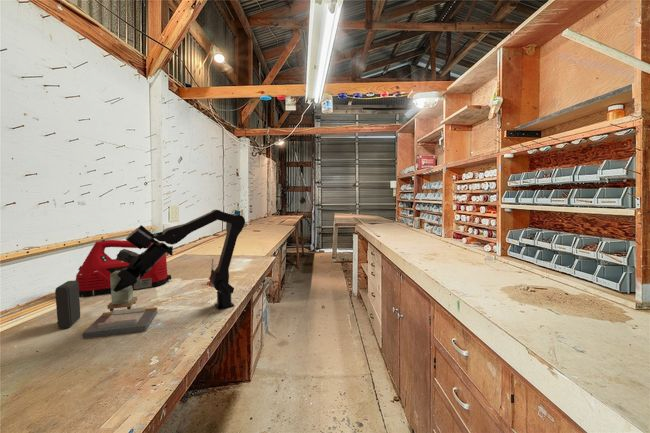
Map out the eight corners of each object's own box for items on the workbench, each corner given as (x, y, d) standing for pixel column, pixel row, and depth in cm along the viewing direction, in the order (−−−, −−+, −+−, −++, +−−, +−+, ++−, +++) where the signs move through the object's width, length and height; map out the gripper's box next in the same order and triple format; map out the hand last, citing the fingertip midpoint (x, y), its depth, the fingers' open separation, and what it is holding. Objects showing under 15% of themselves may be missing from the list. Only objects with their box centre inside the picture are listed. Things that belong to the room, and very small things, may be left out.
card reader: (68, 319, 108) (66, 280, 106) (82, 317, 109) (79, 279, 108) (56, 330, 99) (52, 288, 98) (70, 328, 100) (67, 286, 99)
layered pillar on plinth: (137, 302, 108) (135, 268, 107) (131, 310, 101) (129, 273, 100) (115, 304, 105) (113, 270, 104) (107, 312, 99) (105, 275, 98)
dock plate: (157, 312, 114) (157, 304, 114) (145, 331, 99) (145, 321, 98) (103, 318, 108) (103, 309, 108) (82, 338, 93) (81, 328, 93)
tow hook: (230, 283, 153) (217, 280, 157) (230, 260, 151) (217, 257, 155) (218, 288, 145) (205, 285, 149) (218, 263, 144) (205, 260, 148)
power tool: (172, 285, 148) (170, 237, 147) (71, 300, 127) (67, 244, 125) (170, 277, 162) (168, 233, 160) (78, 290, 140) (74, 239, 138)
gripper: (140, 237, 111) (108, 267, 109) (122, 246, 94) (84, 282, 91) (164, 256, 114) (133, 285, 112) (151, 267, 97) (114, 303, 94)
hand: (117, 288), depth 102 cm, fingers closed on layered pillar on plinth, 5 cm apart
